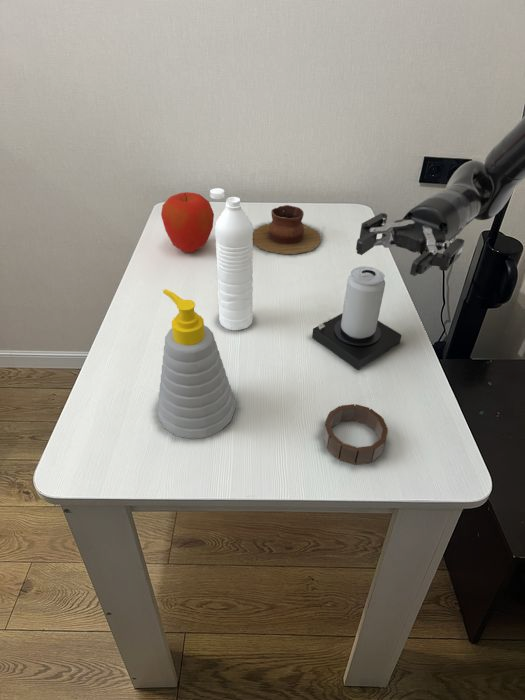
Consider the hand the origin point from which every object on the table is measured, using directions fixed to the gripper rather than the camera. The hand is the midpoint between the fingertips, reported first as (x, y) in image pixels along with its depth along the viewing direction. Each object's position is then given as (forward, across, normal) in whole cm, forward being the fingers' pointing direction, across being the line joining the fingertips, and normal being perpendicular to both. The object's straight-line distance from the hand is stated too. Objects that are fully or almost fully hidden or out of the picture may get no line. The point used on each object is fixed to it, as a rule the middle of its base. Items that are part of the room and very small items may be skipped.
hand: (385, 258), depth 68 cm
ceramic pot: (-33, -42, +24) cm, 59 cm away
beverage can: (-9, -7, +22) cm, 25 cm away
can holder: (+11, +6, +24) cm, 27 cm away
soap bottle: (+23, -16, +24) cm, 37 cm away
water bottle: (+1, -29, +24) cm, 38 cm away
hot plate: (-9, -7, +24) cm, 27 cm away
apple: (-13, -56, +24) cm, 62 cm away
